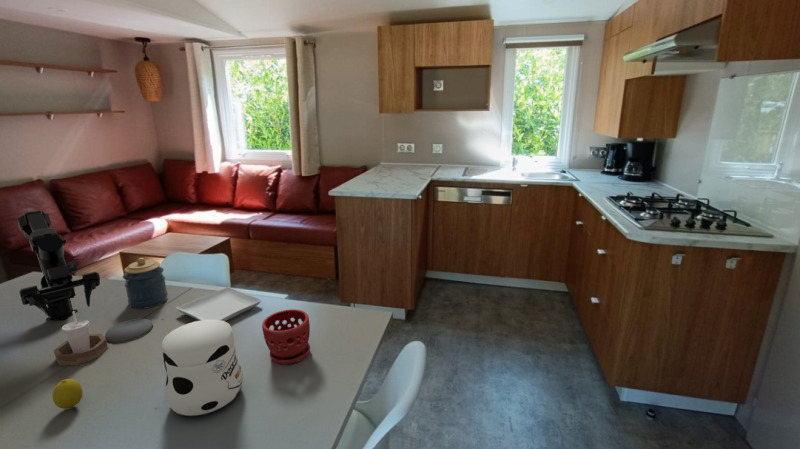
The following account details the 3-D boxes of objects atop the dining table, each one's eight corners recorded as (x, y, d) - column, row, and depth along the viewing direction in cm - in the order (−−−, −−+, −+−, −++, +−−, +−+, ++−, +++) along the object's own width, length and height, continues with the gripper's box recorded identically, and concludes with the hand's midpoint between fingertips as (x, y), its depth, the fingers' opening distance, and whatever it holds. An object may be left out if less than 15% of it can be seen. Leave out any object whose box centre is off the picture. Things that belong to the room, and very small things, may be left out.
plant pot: (296, 338, 128) (294, 304, 124) (320, 355, 119) (317, 319, 115) (258, 355, 119) (253, 318, 116) (279, 375, 110) (276, 336, 107)
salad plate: (264, 307, 149) (263, 298, 148) (211, 333, 131) (210, 323, 130) (228, 294, 160) (227, 286, 159) (175, 316, 142) (174, 307, 141)
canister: (155, 309, 146) (147, 264, 142) (120, 309, 147) (110, 264, 142) (175, 294, 159) (168, 252, 154) (143, 293, 159) (134, 252, 154)
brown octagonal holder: (75, 343, 125) (73, 335, 124) (114, 341, 126) (112, 333, 125) (47, 366, 114) (44, 357, 113) (90, 364, 115) (87, 355, 114)
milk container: (256, 397, 101) (248, 334, 96) (183, 435, 89) (169, 366, 85) (227, 367, 113) (219, 310, 108) (159, 398, 101) (146, 335, 96)
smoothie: (81, 361, 116) (70, 317, 113) (63, 358, 118) (51, 315, 114) (101, 348, 122) (91, 307, 119) (83, 346, 124) (73, 305, 120)
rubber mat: (120, 322, 138) (120, 319, 138) (160, 320, 139) (159, 317, 138) (96, 343, 125) (95, 340, 125) (139, 341, 126) (139, 338, 126)
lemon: (67, 400, 100) (60, 373, 98) (90, 399, 101) (83, 372, 99) (50, 417, 95) (42, 388, 93) (75, 415, 96) (67, 387, 93)
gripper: (11, 263, 113) (25, 311, 109) (92, 247, 126) (108, 289, 122) (15, 281, 120) (29, 327, 116) (91, 264, 133) (106, 305, 129)
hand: (70, 311), depth 120 cm, fingers open, 9 cm apart
